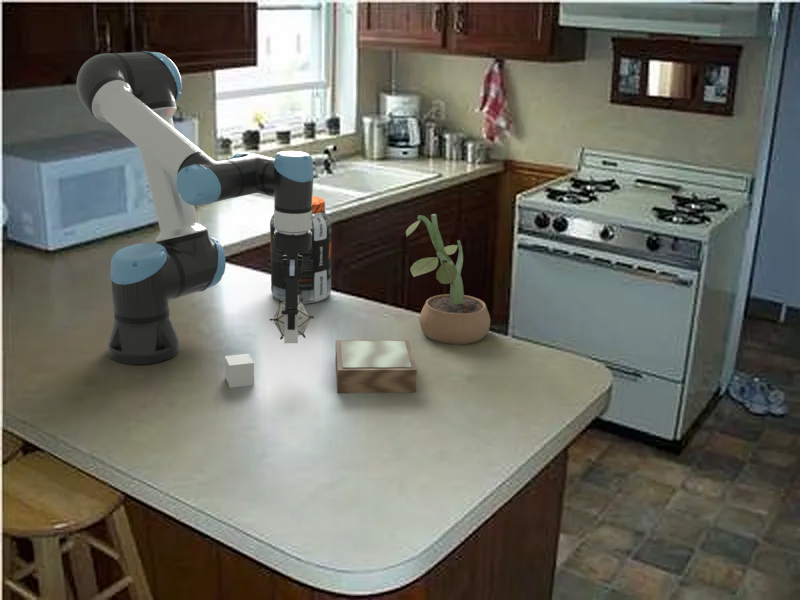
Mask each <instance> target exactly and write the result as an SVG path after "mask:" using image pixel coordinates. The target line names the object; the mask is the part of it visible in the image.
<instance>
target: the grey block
mask: <svg viewBox="0 0 800 600" xmlns="http://www.w3.org/2000/svg"><path fill="white" fill-rule="evenodd" d="M224 369H225V370H224V371H225V372H224V373H225V379H226V382H227V384H228V386H229V388H230V389H231V388H238V387H247V386H254V385H255V363H254V361H253V359H252V357H251V355H250V353H241V354H233V355H225V356H224Z"/></svg>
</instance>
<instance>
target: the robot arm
mask: <svg viewBox="0 0 800 600" xmlns="http://www.w3.org/2000/svg"><path fill="white" fill-rule="evenodd" d="M77 74H78V75H77V78H76V91H77V94H78V95H77V96H78V97H79V100H80V102H81V103H82V105H83V106H84V108H85V109H86V110H87V111H88V112H89V114H91V115H92V116H94V117H95V119H97V120H98V121H99V122H102V123H109V124H111V126H113V127H114V128H115V129H116V130H117V131H119V132H120V134H122V135H123V136H124V137H126V138H127V139H128V140H130V142H132V143H133V144H134V145H135V146H136V147H138V150H139V152H140V156H141V161H142V164H143V169H144V173H145V177H146V180H147V184H148V188H149V192H150V196H151V199H152V200H151V201H152V203H153V208H154V211H155V214H156V215H155V216H156V218H157V224H158V227H159V230H160V231H159V233H158V236H157V237H156V238H155V242H143V243H134V244H130V245H127V246H126V247H125V246H124V247H123V248H120V249H118V250H117V251H116V252H115V253H114V254H113V255H112V257H111V260H110V272H109V273H110V274H109V278H110V281H111V291H112V292H111V293H112V304H113V316H114V321H113V324H112V327H111V331H110V335H109V340H108V343H107V351H108V357H109V358H110V359H111V360H113V361H115V362H118V363H121V364H124V365H125V364H127V365H148V364H149V365H151V364H156V363H161V362H164V361H167V360H169V359H172V358H174V357H175V356H176V355H178V353H179V351H180V340H179V336H178V334H177V332H176V328H175V326H174V324H173V321H172V320H171V316H170V314H171V313H170V301H172V300H175V299H178V298H181V297H184V296H188V295H191V294H195V293H198V292H203V291H206V290H207V289H209V288H212V287H214V286H216V285H217V284H218V283H220V282H221V280H222V279H223V278H222V277H223V276H224V274H225V270H226V265H227V261H226V254H225V250H224V248H223V246H222V244H221V243H219V241H218V239H216V238H215V237H213V236H210V235H209V232H208V228H207V227H205V226H204V225H202V224H201V223H200V222H199V220H198V216H197V211H196V207H195V206H199V205H200V206H201V205H209V204H213V203H217V202H221V201H227V200H230V199H233V198H239V197H240V198H241V197H245V196H248V195H254V194H261V195H265V196H268V197H272V198H274V202H273V203H274V206H273V207H274V208H273V215H274V228H275V229H276V230H275V231H274V247H275V249H277V250H278V251H281V252H285V253H287V255H283V268H284V280H285V281H286V294H285V301H284V302H285V310H284V311H282V314H285V326H284V336H283V338H284V340H283V341H284V342H283V343H284V344H298V341H299V339H298V338H299V335H298V301H299V295H298V294H302V290H301V289H298V287H299V284H298V282H299V281H300V280H301V268H302V256H299V253H301V252H306V251H308V250H310V249H311V246H312V232H311V231H310V229H311V228H312V220H311V219H314V218H315V214H311V213H312V196H313V193H314V192H313V189H314V177H315V175H314V161H313V160H314V159H313V157H312V156H311V155H310V154H309V153H308V152H304V151H296V150H284V151H279V152H277V153H276V154H275V156H274V158H273V157H270V156H265V155H262V154H261V155H260V154H258V153H255V152H246V151H245V152H244V151H242V152H241V151H240V152H237V153H235V154H234V155H233V156H232V157H230V159H224V160H223V159H222V160H217V161H216V160H214V159H213V158H211V157H210V156H208V155H207V154H206V153H205V152H204V151H203V150H201V149H200V148H199V147H198V146H197V145H195V144H194V143H193V142H192V141H191V140H189V139H188V138H187V137H185V136H184V135H183V134H182V133H181V132H180V131H178V130H177V129H176V128H175V124H174V120H173V117H174V115H175V113H176V111H177V110H178V107H177V104H176V102H178V100H179V99H180V97H181V95H182V92H181V90H182V89H183V82H182V76H181V74H180V72H179V69H178V67H177V66H176V64H175V63H174V62H173V61H172V59H170V58H169V57H168V56H166V54H163V53H161V52H158V51H157V52H156V51H147V50H146V51H145V50H143V51H132V52H130V51H129V52H117V53H116V52H112V53H110V52H109V53H99V54H96V55H93V56H92V57H90V58H89V59H88V60H86V61H85V62H84V63H83V64H82V66H81V67H80V69H79V71H78V73H77ZM94 117H93V118H94ZM293 308H294V309H293Z"/></svg>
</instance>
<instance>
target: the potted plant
mask: <svg viewBox="0 0 800 600" xmlns="http://www.w3.org/2000/svg"><path fill="white" fill-rule="evenodd" d="M430 215H431V217H430V218H431V221H430V219H429V218H428V217H426V216H425V215H421V214H419V215H417V221H415V222H414V223H412V224H411V225H409V226H408V228H407V229H406V230H405V237H406V238H408V236H410V235H411V234H412V233H414V231H415V230H416V229H417V227H418V226H419V224H420V223H421V221H422V222H423V223H424V225H425V226H426V229H427V232H428V234H429V237H430V240H431V242H432V245H433V247H434V249H435V251H436V256H435V257H429V256H428V257H423V258H420V259H418V260H416V261H415V262H413V264H412V265H411V266H410V272H411V273H410V274H411V275H412V278H415V277H417V276H421V275H424V274H427V273H430V272H432V271H434V270H436V269H437V267H438V266H439V260H440V266H439V267H438V269H437V270H436V273H435V279H436V280H437V281H438V282H439V283H440V284H444V285H450V286H449V287H450V289H449V293H445V294H437V295H433V296H430V297H429V298H428V299H426V301H425V302H424V305H423V307H422V309H421V312H420V315H419V317H418V318H419V320H418V321H419V325H420V328H421V331H422V333H423V334H424V335H425V336H427V338H429V339H431V340H433V341H435V342H438V343H442V344H447V345H468V344H473V343H477V342H479V341H480V340H482V339H483V338H485V336H486V335H488V333H489V330H490V327H491V317H490V316H491V315H490V313H489V310H488V307H487V304H486V303H485V301H483V300H481V299H480V298H477V297H475V296H471V295H465V294H464V284H463V279H462V276H461V274H462V268H463V265H464V264H463V263H464V252H463V246H462V242H461V240H460V239H458V240H456V242H457V244H451V245H447V246H444V245H445V244H444V242H443V239H442V236H441V232H440V230H439V229H440V228H439V224H438V223H439V222H438V217H437V214H436V213H432V214H430ZM457 249H458V254H457V255H458V256H457V260H456V263H454V262H453V259H452V258H451V257H450V256H451V255H453V254H455V253H456V252H457Z"/></svg>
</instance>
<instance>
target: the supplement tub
mask: <svg viewBox="0 0 800 600" xmlns="http://www.w3.org/2000/svg"><path fill="white" fill-rule="evenodd" d="M311 214H315V218H314V219H311V220H312V228H311V229H310V231H311V232H312V246H311V249H310V250H308V251H306V252H301V253H299V256H302V268H301V280H300V281H299V282H298V284H299V287H298V289H301V290H302V294H298V295H299V301H300V299H301V298H303V301H302V303H303V305H304V304H314V303H317V302H320V301H323V300H325V299H327V298H328V297H329V296H330V295H331V292H332V220H331V218H330V216H329V214H328V213H327V212H326V203H325V199H324V198H322V197H321V196H320V197H319V196H316V195H315V196H314V195H312V213H311ZM275 230H276V229H275V228H274V214H272V216H271V218H270V222H269V235H270V241H269V242H270V282H271V285H270V286H271V287H270V290H271V294H272V296H273V297H274V298H275V299H277V300H278V299H279V300H280V301H281V302H285V294H286V281H285V280H284V268H283V255H287V253H285V252H281V251H278V250H277V249H275V247H274V231H275Z"/></svg>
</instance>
